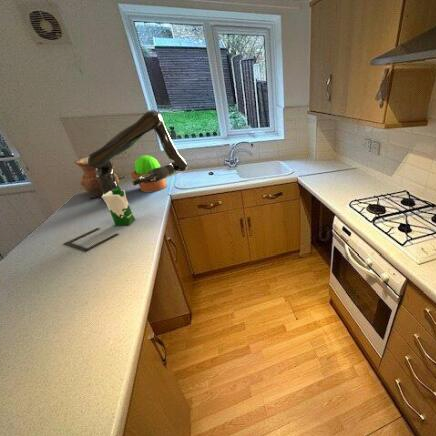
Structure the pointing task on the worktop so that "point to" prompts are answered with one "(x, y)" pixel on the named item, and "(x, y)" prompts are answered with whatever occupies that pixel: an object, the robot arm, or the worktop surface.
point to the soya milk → (119, 207)
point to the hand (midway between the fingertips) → (133, 183)
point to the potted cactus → (144, 167)
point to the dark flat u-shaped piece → (89, 247)
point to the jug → (91, 178)
